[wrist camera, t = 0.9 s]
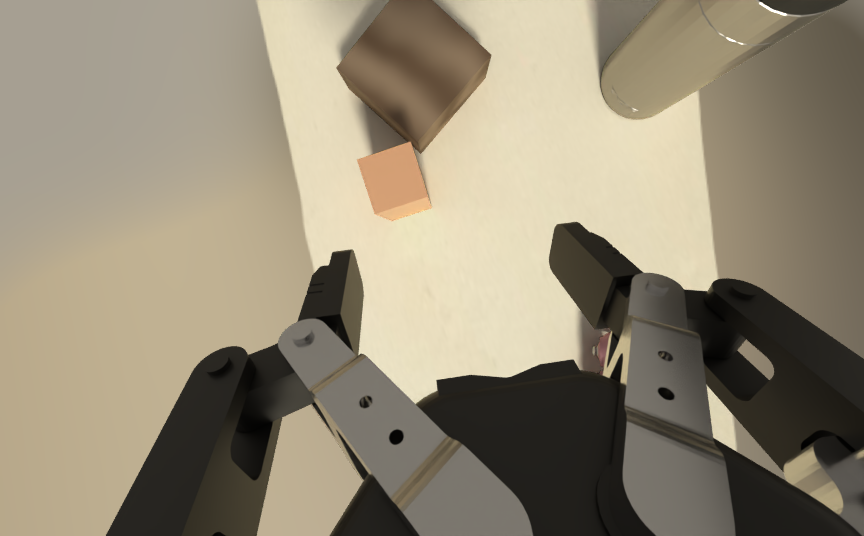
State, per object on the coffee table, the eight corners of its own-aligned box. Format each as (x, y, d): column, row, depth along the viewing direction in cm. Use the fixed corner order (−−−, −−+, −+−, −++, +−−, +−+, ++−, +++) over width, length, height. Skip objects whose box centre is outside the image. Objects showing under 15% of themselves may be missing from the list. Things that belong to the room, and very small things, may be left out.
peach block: (419, 167, 39) (410, 141, 29) (432, 208, 39) (428, 196, 29) (378, 180, 39) (357, 159, 29) (392, 221, 40) (374, 214, 30)
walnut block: (412, 12, 38) (407, -23, 33) (485, 79, 38) (491, 55, 33) (349, 90, 39) (336, 67, 34) (421, 154, 39) (417, 141, 34)
